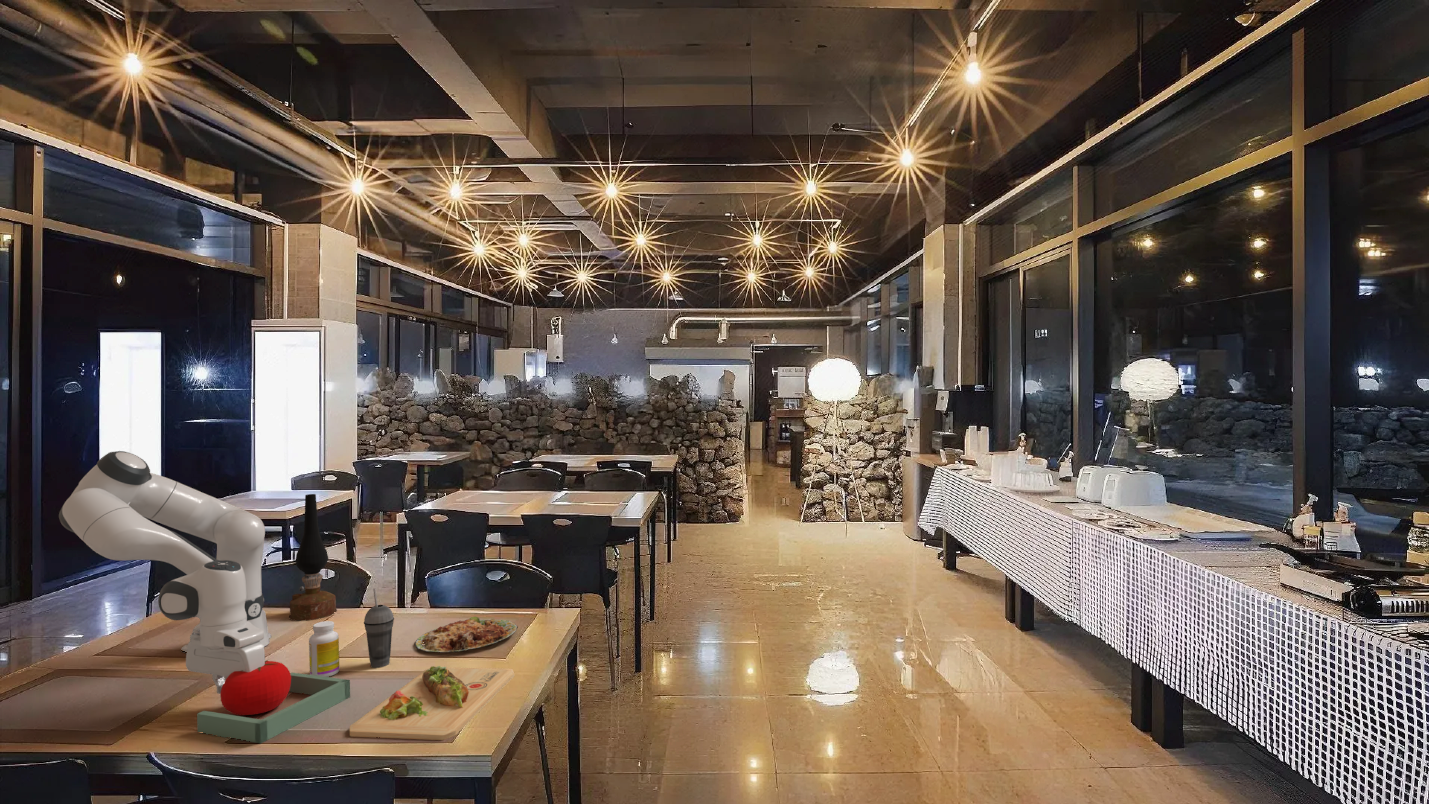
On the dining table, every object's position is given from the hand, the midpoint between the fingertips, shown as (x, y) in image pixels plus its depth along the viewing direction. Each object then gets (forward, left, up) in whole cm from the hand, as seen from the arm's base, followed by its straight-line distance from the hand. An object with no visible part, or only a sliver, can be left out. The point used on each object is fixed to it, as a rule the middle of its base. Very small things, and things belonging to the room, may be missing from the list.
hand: (225, 693), depth 161 cm
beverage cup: (+15, +30, -3) cm, 34 cm away
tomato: (+9, +1, -3) cm, 9 cm away
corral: (+14, 0, -3) cm, 15 cm away
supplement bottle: (+6, +21, -3) cm, 23 cm away
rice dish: (+25, +53, -4) cm, 59 cm away
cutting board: (+46, +15, -4) cm, 49 cm away
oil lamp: (-39, +61, -3) cm, 72 cm away
